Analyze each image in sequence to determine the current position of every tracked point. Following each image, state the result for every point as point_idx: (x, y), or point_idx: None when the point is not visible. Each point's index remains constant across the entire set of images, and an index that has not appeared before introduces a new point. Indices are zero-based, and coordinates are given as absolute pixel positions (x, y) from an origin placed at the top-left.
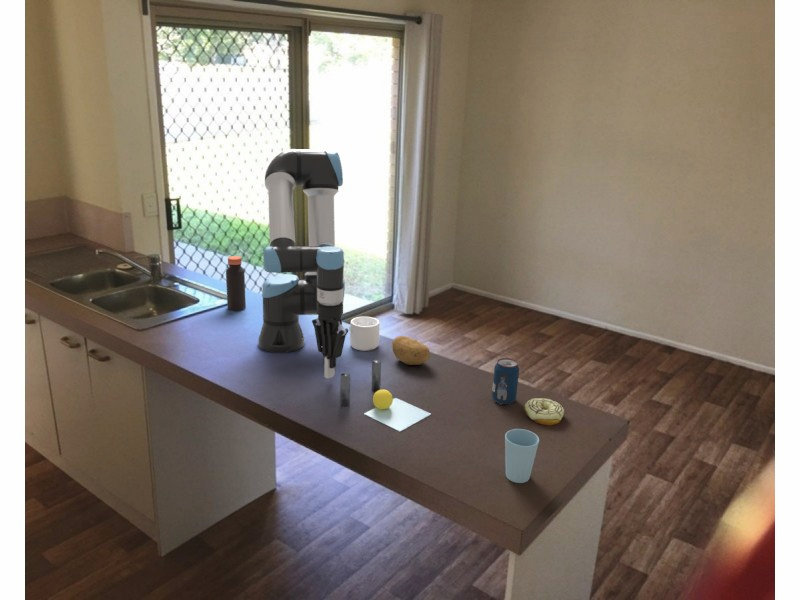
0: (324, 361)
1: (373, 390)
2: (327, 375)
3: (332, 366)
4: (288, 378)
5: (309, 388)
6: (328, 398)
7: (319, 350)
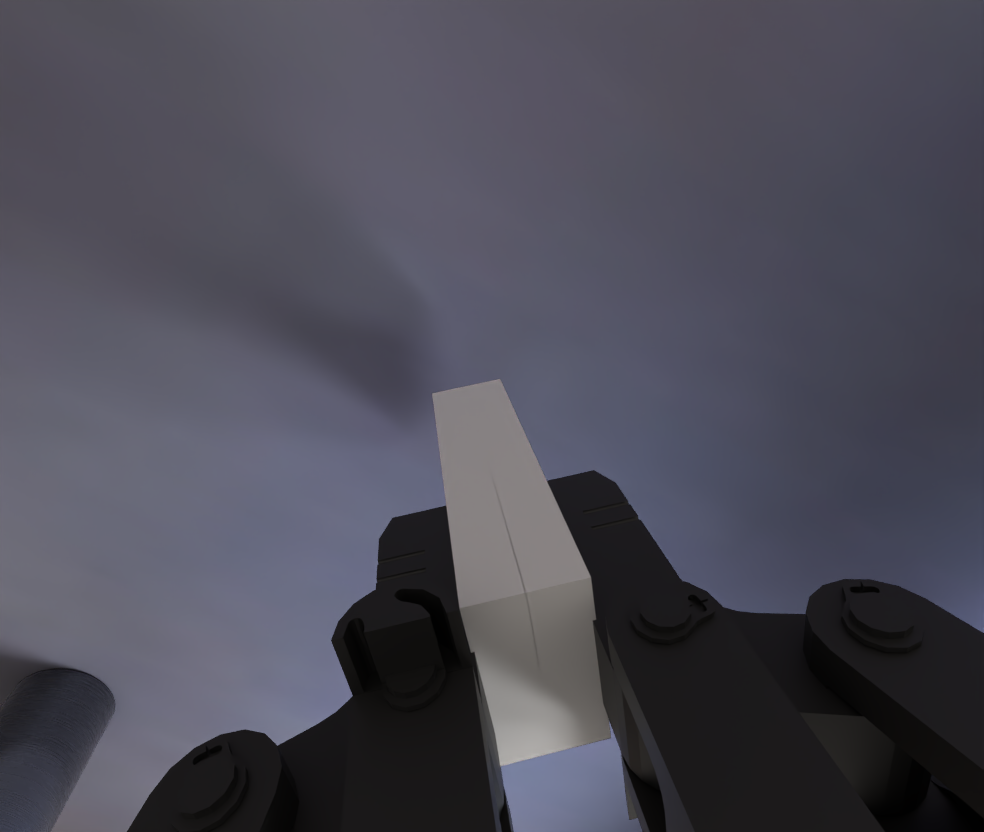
0: (555, 506)
1: (27, 684)
2: (443, 410)
3: (380, 551)
4: (883, 13)
5: (461, 97)
6: (39, 158)
7: (865, 622)
